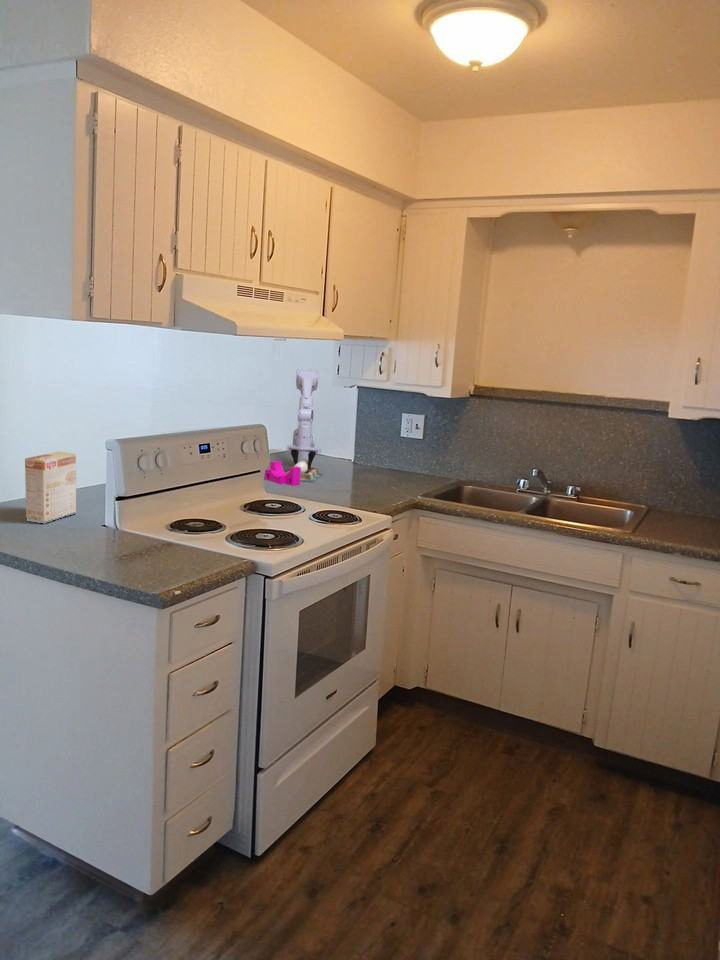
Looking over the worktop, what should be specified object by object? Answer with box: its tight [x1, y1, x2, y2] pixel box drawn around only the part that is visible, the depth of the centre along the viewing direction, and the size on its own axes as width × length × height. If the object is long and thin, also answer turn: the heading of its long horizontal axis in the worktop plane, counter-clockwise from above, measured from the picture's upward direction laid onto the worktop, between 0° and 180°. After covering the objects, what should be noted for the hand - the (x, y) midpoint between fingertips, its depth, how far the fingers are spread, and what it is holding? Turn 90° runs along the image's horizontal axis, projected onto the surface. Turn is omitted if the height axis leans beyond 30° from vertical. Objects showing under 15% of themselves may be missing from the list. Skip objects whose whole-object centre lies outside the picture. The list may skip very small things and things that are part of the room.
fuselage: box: [293, 459, 309, 473], centre depth 328 cm, size 12×5×5 cm, turn 171°
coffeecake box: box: [24, 451, 77, 521], centre depth 235 cm, size 15×7×20 cm, turn 162°
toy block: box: [264, 460, 301, 487], centre depth 314 cm, size 15×6×8 cm, turn 44°
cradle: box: [285, 466, 324, 483], centre depth 328 cm, size 20×14×3 cm
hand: (302, 468), depth 328 cm, fingers closed on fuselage, 5 cm apart
